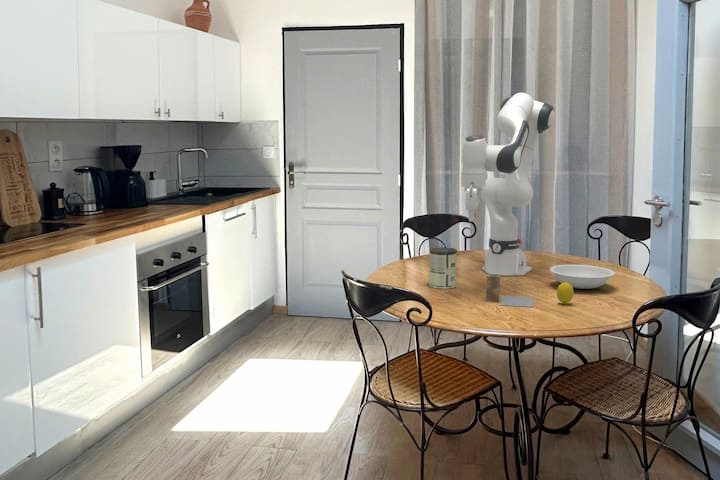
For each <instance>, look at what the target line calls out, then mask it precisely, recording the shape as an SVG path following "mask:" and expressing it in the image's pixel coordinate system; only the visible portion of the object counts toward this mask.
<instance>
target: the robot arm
mask: <svg viewBox="0 0 720 480" xmlns="http://www.w3.org/2000/svg"><path fill="white" fill-rule="evenodd" d="M555 113H556V110H555V107H554V106H553V105H552V104H550V103H547V102H545V103H544V102H542V101H539V100H535V99H533V97H532V96H531V95H530V94H528V93H526V92H517V93H515V94H514V95H512V96H509V97H506V98H505V99H503V100H502V103H501V104H500V108H499V112H498V114H497V117H496V124H497V127H498V129H499V130H500V131H501V132H502V134H504V135H505V136H508V137H510V139H509V141H508V144H504V145H498V144H496V145H495V144H494V145H493V144H488V143H487V142H486V141H487V140H486V136H483V135H473V136H472V135H471V136H470V135H469V136H467V137H466V138H464V140H463V143H462V150H461V163H462V164H461V165H462V167H461V168H462V169H461V173H460V174H461V176H460V177H461V178H460V182H461V183H460V186H461V187H462V188H463V187H464V191H465V210H467V211H468V221H469V222H474V221H475V218H476V217H477V209H478V206H479V204H480V202H481V200H483V202H484V204H485V205H486V208H487V211H488V214H489V221H490V223H489V224H490V232H489V233H490V234H489V235H490V237H489V238H488V247H489V249H487V250H486V253H485V260H484V266H482V268H481V270H483V271H484V272H485V273H486V274H500V276H509V277H510V276H525V275H526V274H528V273H530V271H532V269H533V268H532V266H528V265H527V256H526V254H525V253H524V252H523V251H522V250H521V249H520V245H521V244H522V243H523V240H522V238H518V233H519V230H518V229H519V221H518V218H517V217H516V216H515V215H514V214H513V212H512V209H511V208H512V207H513V208H519V207H520V208H522V207H526V206H528V205H529V204H531V202H532V200H533V199H534V198H533V197H534V190H533V187H532V185H531V184H530V181H529V170H530V167H531V164H532V160H533V156H534V154H535V151H536V148H537V144H538V140H539V139H538V138H539V134H542V133H543V132H545V131H547V130H548V129H549V128H551V126H552V125H553V123H554V120H555V117H556V115H555ZM487 172H492V173H494V172H496V173H503V174H506V175H505V178H501V177H492V178H490V177H489V178H487Z"/></svg>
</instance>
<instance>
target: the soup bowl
mask: <svg viewBox="0 0 720 480" xmlns="http://www.w3.org/2000/svg"><path fill="white" fill-rule="evenodd" d="M549 272H551V273H552V274H553V275H554V278H555V279H556V280H557V281H558V282H560V284H562V283H564V282H567V283H569V284H570V285H571V286H572V288H573V289H581V290H582V289H583V290H584V289H585V290H586V289H587V290H588V289H597V288H599V287H601V286H603V285H605V284H606V283H607V282H608V281H609V280H610V279H611V278H612V277H614V276H616V271H614V270H612V269H609V268H607V267H601V266H595V265H588V264H560V265H559V264H558V265H553V266H551V267H549Z"/></svg>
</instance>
